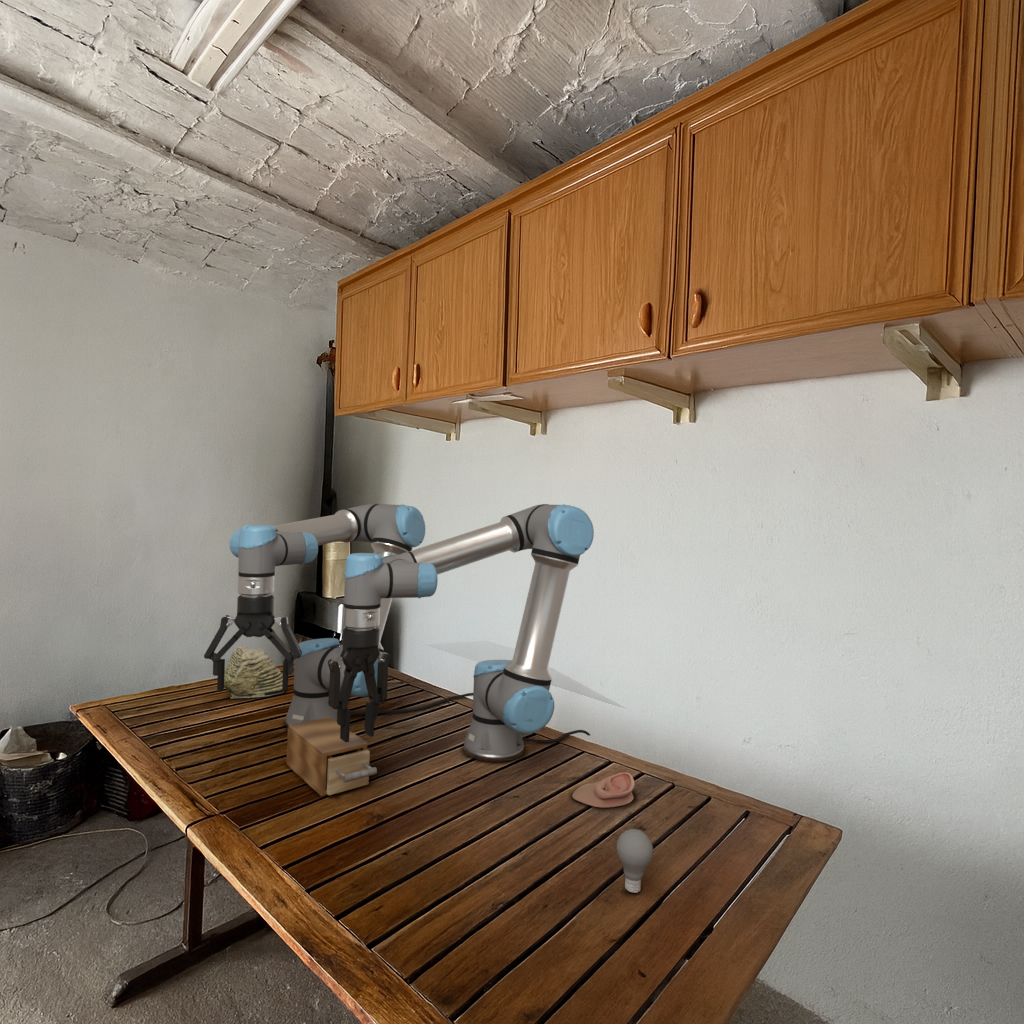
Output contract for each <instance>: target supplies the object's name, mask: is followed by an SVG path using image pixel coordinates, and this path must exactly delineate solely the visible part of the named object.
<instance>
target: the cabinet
mask: <svg viewBox="0 0 1024 1024" xmlns="http://www.w3.org/2000/svg"><path fill="white" fill-rule="evenodd" d="M286 739H287V740H286V741H287V742H286V765H287V766H288V767H289V768H290V769H291V770H292V771H293V772H294V773H295V774H296V775H297V776H298V777H300V778H301V779H302V780H303V781H304V782H305V783H306V784H307V785H308V786H309V787H310V788H311V789H313V790H314V791H315V793H317V794H318V795H319V796H320V797H324V796H329V795H328V794H327V787H326V766H327V756H331V755H335V754H339V753H343V752H347V751H352V750H356V749H361V751H364V750H368V742H367V741H366V740H364V739H363V738H361V737H360V736H359V735H358V734H355V732H352V731H351V730H350V733H349V742H344V741H343V740H342V739H340V725H338V724H337V722H336V721H335V720H333V719H332V718H330V717H327V718H322V719H317V720H312V721H307V722H302V723H297V724H292V725H288V727H287V738H286Z"/></svg>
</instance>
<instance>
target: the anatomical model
mask: <svg viewBox="0 0 1024 1024" xmlns="http://www.w3.org/2000/svg"><path fill="white" fill-rule="evenodd" d="M635 786H636V784H635V779H634V777H633V775H631V773H630V772H627V771H625V772H619V773H615V774H612V775H610V776H607V777H604V778H602V779H601V780H599V781H596V782H593V783H592V782H591V783H590V782H589V783H584V784H582V785H579V787H577V788H576V789H575V790H574V791H573V793H572V795H571V798H572V799H573V800H575V801H577V802H580V803H582V804H584V805H587V806H591V807H594V808H602V809H603V808H615V807H621V806H625V805H628V804H630V803H632V801H633V800H634V794H633V791H634V789H635Z"/></svg>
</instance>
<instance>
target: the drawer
mask: <svg viewBox="0 0 1024 1024" xmlns="http://www.w3.org/2000/svg"><path fill="white" fill-rule="evenodd" d="M370 759H371V751H370V750H369V749H367V750H364V751H361V749H356V750H352V751H347V752H343V753H339V754H335V755H331V756H327V766H326V787H327V794H328V795H327V796H332V795H335V794H340V793H343V792H346V791H349V790H350V791H351V790H353V789H356V788H360V787H364V786H367V785H369V784H370V783H369V782H370V777H371V776H374V775H377V774H378V769H377V767H375V766H374V767H372V766H370V763H371V762H370Z"/></svg>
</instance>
